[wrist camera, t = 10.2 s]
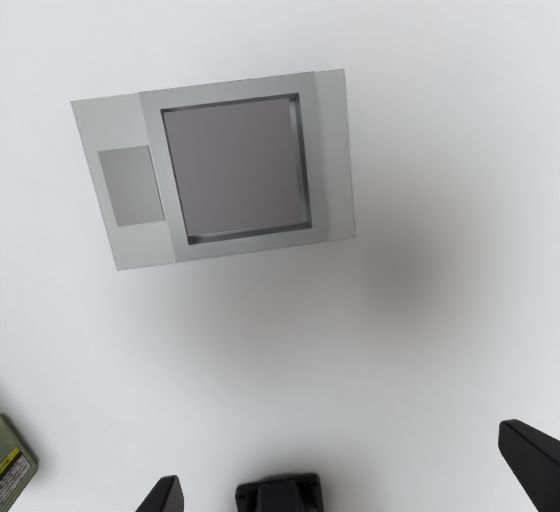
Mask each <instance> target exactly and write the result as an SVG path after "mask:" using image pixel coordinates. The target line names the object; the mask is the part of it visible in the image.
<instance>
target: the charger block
mask: <svg viewBox="0 0 560 512" xmlns="http://www.w3.org/2000/svg"><path fill="white" fill-rule="evenodd" d="M164 118H165V123H166V128H167V133H168V138H169V143H170V148H171V153H172V158H173V163H174V168H175V172H176V177H177V182H178V187H179V192H180V197H181V202H182V207H183V212H184V217H185V222H186V227H187V232H188V236H195V235H203V234H210V233H218V232H226V231H233V230H241V229H248V228H256V227H263V226H271V225H278V224H286V223H293V222H301V221H302V220H301V210H300V201H299V191H298V182H297V172H296V163H295V153H294V143H293V134H292V124H291V115H290V105H289V98H286V99H277V100H269V101H260V102H252V103H243V104H234V105H226V106H217V107H209V108H200V109H192V110H183V111H175V112H166V113H164Z"/></svg>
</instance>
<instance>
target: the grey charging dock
mask: <svg viewBox="0 0 560 512" xmlns="http://www.w3.org/2000/svg"><path fill="white" fill-rule="evenodd" d="M286 98H289V105H290V115H291V124H292V134H293V143H294V153H295V163H296V172H297V182H298V191H299V201H300V210H301V220H302V221H301V222H293V223H286V224H278V225H271V226H263V227H256V228H248V229H241V230H233V231H226V232H218V233H210V234H203V235H195V236H188V232H187V227H186V222H185V217H184V212H183V207H182V202H181V197H180V192H179V187H178V182H177V177H176V172H175V168H174V163H173V158H172V153H171V148H170V143H169V138H168V133H167V128H166V123H165V118H164V113H166V112H175V111H183V110H192V109H200V108H209V107H217V106H226V105H234V104H243V103H252V102H260V101H269V100H277V99H286ZM70 102H71V105H72V109H73V113H74V116H75V120H76V123H77V127H78V131H79V134H80V138H81V142H82V145H83V149H84V152H85V156H86V160H87V163H88V167H89V170H90V174H91V178H92V181H93V185H94V188H95V192H96V196H97V199H98V203H99V207H100V210H101V214H102V217H103V221H104V225H105V228H106V232H107V235H108V239H109V243H110V246H111V250H112V253H113V257H114V261H115V264H116V268H117V271H120V270H127V269H134V268H141V267H148V266H156V265H163V264H170V263H177V262H184V261H191V260H198V259H206V258H213V257H220V256H227V255H234V254H241V253H248V252H256V251H263V250H270V249H277V248H284V247H291V246H298V245H306V244H313V243H320V242H327V241H334V240H341V239H348V238H355V229H354V213H353V198H352V182H351V167H350V151H349V135H348V120H347V104H346V89H345V73H344V69H338V70H329V71H321V72H314V71H313V72H305V73H297V74H288V75H280V76H271V77H263V78H255V79H246V80H238V81H229V82H221V83H213V84H204V85H196V86H187V87H179V88H171V89H162V90H154V91H145V92H138V93H136V94H128V95H119V96H111V97H103V98H94V99H86V100H77V101H70Z"/></svg>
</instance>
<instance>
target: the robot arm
mask: <svg viewBox="0 0 560 512" xmlns="http://www.w3.org/2000/svg"><path fill="white" fill-rule="evenodd" d="M498 446H499V450H500V452H501V454H502V456H503V457H504V459H505V460H506V462H507V464H508V465H509V467H510V468H511V470H512V471H513V473H514V474H515V476H516V478H517V479H518V481H519V482H520V484H521V485H522V487H523V489H524V490H525V492H526V493H527V495H528V496H529V498H530V499H531V501H532V503H533V504H534V506H535V507H536V509H537V510H538V512H560V441H559V440H557V439H555V438H553V437H551V436H549V435H547V434H545V433H543V432H541V431H539V430H537V429H535V428H533V427H531V426H529V425H527V424H525V423H523V422H521V421H519V420H517V419H511V420H505V421H501V423H500V425H499V437H498ZM235 499H236V504H237V508H238V512H324V509H323V501H322V493H321V484H320V479H319V477H318V476H317V475H308V476H302V477H296V478H290V479H284V480H278V481H272V482H266V483H260V484H254V485H248V486H242V487H239V488H237V489H236V494H235ZM135 512H184V496H183V493H182V489H181V485H180V482H179V478H178V476H177V475H171V476H165V477H162V478H161V479H160V480H159V481H158V482H157V483H156V485H155V486H154V487H153V489H152V490H151V491H150V493H149V494H148V495H147V497H146V498H145V499H144V501H143V502H142V503H141V505H140V506H139V507H138V509H137V510H136V511H135Z"/></svg>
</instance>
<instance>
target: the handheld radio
mask: <svg viewBox="0 0 560 512" xmlns="http://www.w3.org/2000/svg"><path fill="white" fill-rule="evenodd" d="M37 469H38V466H37V464H36V463H35V461H34V460H33V459H32V457H31V456H30V454H29V453H28V452H27V450H26V449H25V447H24V446H23V445H22V443H21V442H20V440H19V439H18V438H17V436H16V435H15V433H14V432H13V431H12V429H11V428H10V426H9V425H8V424H7V422H6V421H5V419H4V418H3V417H2V415H1V414H0V512H8V511H9V509H10V508H11V507H12V505H13V504H14V502H15V501H16V500H17V498H18V497H19V495H20V494H21V493H22V491H23V490H24V488H25V487H26V486H27V484H28V483H29V481H30V480H31V479H32V477H33V476H34V474H35V473H36V472H37Z"/></svg>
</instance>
